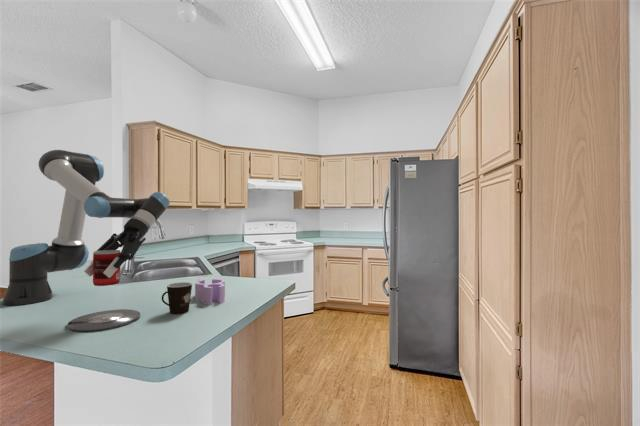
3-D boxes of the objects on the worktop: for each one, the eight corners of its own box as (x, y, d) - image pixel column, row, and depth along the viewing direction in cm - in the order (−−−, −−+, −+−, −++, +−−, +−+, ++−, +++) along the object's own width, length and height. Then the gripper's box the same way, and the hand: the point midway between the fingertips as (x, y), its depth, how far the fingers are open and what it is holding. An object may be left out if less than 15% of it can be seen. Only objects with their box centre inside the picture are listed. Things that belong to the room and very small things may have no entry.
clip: (231, 302, 129) (231, 285, 129) (199, 306, 123) (199, 288, 123) (221, 292, 146) (221, 277, 147) (192, 295, 140) (193, 280, 140)
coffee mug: (186, 307, 121) (186, 281, 121) (195, 311, 115) (196, 284, 115) (154, 313, 113) (154, 285, 113) (162, 318, 107) (162, 289, 107)
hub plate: (51, 327, 98) (51, 323, 98) (111, 309, 117) (111, 306, 117) (98, 335, 92) (98, 331, 92) (153, 315, 111) (153, 311, 111)
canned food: (115, 280, 110) (115, 249, 110) (123, 283, 105) (124, 251, 105) (89, 283, 104) (89, 251, 104) (97, 287, 99) (97, 252, 99)
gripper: (167, 231, 116) (128, 283, 101) (124, 230, 123) (82, 279, 107) (155, 217, 111) (113, 269, 96) (112, 217, 118) (65, 266, 102)
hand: (96, 274), depth 101 cm, fingers closed on canned food, 8 cm apart
